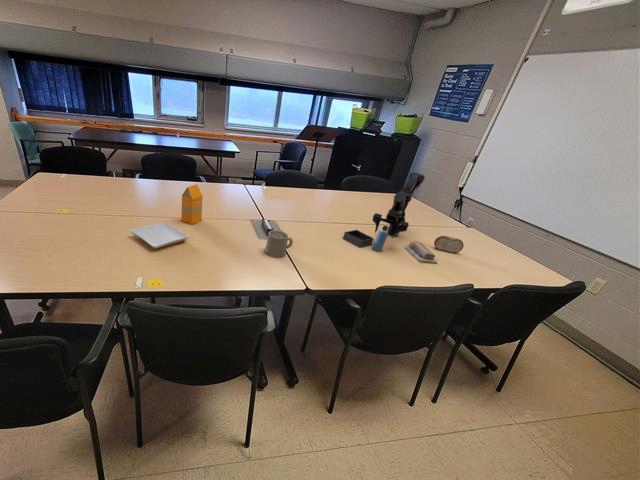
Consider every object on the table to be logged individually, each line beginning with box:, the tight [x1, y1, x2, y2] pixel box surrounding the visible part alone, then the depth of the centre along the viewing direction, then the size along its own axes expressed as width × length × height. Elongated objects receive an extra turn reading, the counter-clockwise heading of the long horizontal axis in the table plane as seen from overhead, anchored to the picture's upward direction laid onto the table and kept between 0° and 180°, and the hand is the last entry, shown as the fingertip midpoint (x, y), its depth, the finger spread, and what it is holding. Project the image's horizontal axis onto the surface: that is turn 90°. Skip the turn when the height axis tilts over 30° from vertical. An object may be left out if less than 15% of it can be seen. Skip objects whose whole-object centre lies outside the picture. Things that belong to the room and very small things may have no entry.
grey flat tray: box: [251, 219, 281, 239], centre depth 182 cm, size 14×25×4 cm, turn 9°
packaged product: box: [404, 240, 438, 264], centre depth 176 cm, size 18×5×10 cm
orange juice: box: [181, 184, 204, 225], centre depth 177 cm, size 8×9×20 cm
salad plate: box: [129, 222, 190, 249], centre depth 156 cm, size 21×21×3 cm
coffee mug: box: [264, 230, 294, 258], centre depth 157 cm, size 13×10×10 cm
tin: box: [433, 235, 465, 254], centre depth 185 cm, size 15×3×8 cm, turn 71°
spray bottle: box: [372, 225, 389, 252], centre depth 173 cm, size 5×5×14 cm
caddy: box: [342, 229, 374, 248], centre depth 183 cm, size 11×13×4 cm
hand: (383, 234), depth 175 cm, fingers open, 9 cm apart
